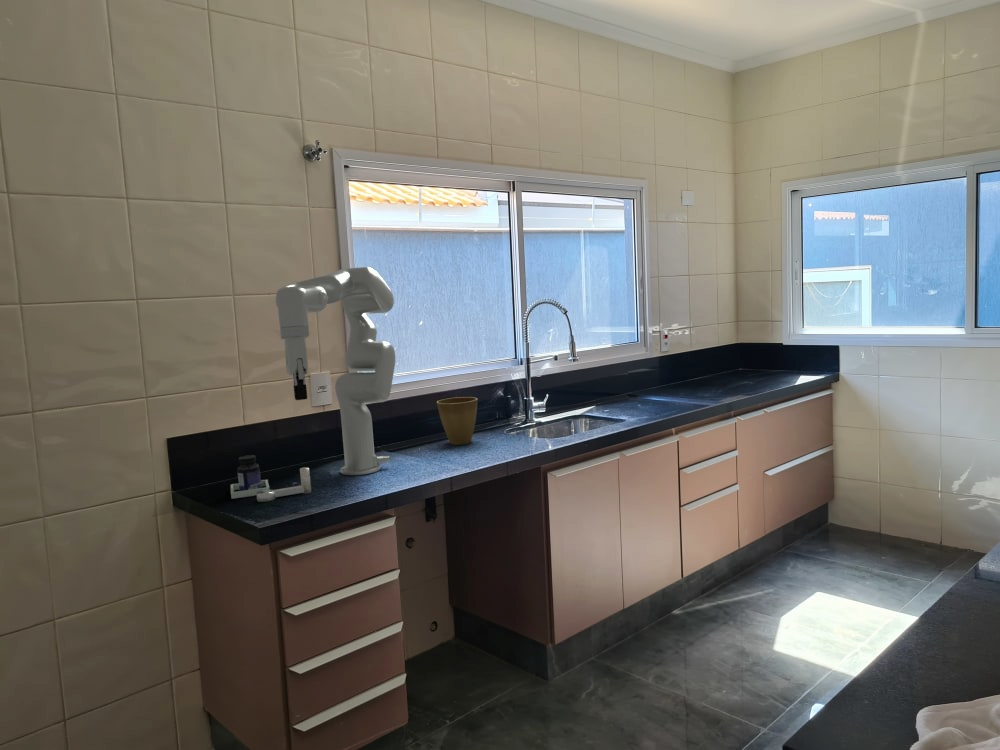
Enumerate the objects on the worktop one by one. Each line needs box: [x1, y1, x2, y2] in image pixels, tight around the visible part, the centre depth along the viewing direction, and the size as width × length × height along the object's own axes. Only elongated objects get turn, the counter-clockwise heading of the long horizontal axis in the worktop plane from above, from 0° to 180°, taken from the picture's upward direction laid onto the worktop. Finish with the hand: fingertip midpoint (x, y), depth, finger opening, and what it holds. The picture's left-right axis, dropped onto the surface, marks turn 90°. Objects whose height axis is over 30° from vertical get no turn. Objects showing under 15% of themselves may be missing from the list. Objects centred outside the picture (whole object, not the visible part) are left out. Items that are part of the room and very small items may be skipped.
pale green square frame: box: [230, 479, 271, 500], centre depth 217 cm, size 10×10×3 cm
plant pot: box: [436, 396, 478, 446], centre depth 273 cm, size 15×15×16 cm
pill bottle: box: [236, 454, 263, 491], centre depth 217 cm, size 6×6×11 cm
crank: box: [256, 466, 312, 503], centre depth 209 cm, size 15×5×7 cm, turn 115°
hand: (301, 399), depth 206 cm, fingers closed
